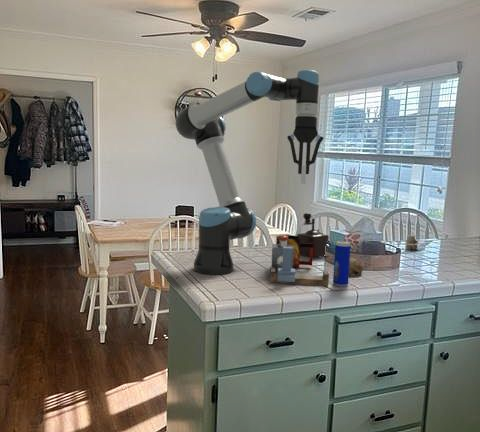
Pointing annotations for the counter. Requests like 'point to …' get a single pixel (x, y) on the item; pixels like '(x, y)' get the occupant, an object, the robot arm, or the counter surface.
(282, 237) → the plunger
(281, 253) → the grey block
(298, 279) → the rail
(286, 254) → the carriage
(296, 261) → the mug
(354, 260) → the bread roll
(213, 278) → the counter surface
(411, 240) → the architectural model
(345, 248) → the beverage can
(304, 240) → the manual coffee grinder
